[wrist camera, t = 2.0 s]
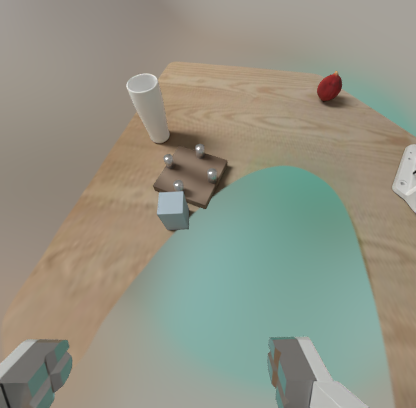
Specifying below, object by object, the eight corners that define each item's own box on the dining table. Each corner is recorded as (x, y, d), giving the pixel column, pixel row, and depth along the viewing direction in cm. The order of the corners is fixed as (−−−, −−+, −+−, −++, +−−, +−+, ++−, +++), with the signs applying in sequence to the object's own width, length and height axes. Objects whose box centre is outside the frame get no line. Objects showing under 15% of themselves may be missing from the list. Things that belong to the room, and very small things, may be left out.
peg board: (180, 151, 52) (176, 136, 48) (227, 165, 49) (227, 151, 45) (155, 190, 47) (148, 178, 43) (205, 209, 44) (204, 198, 40)
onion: (338, 102, 58) (354, 73, 51) (323, 109, 57) (337, 81, 50) (323, 91, 60) (337, 63, 53) (308, 98, 59) (320, 70, 52)
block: (168, 210, 45) (159, 192, 37) (189, 209, 44) (183, 191, 37) (167, 229, 42) (157, 214, 35) (188, 229, 42) (182, 213, 35)
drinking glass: (172, 127, 57) (158, 71, 43) (172, 145, 53) (157, 91, 40) (149, 129, 57) (127, 74, 43) (147, 147, 54) (123, 94, 40)
